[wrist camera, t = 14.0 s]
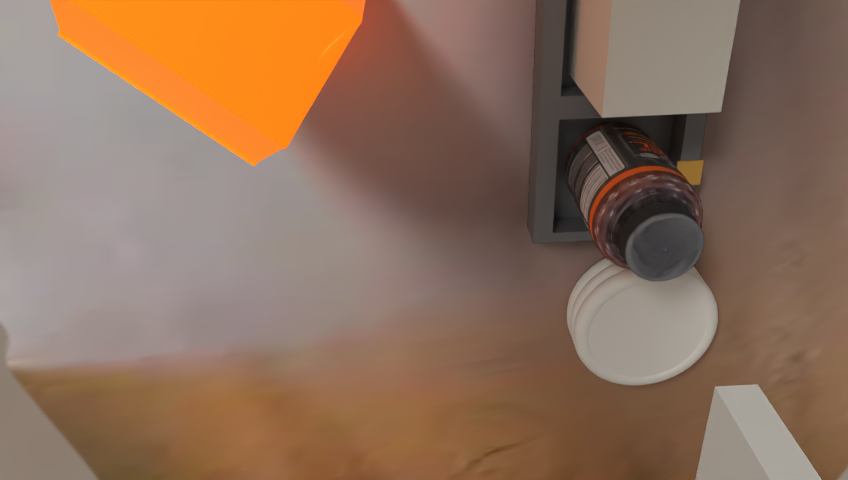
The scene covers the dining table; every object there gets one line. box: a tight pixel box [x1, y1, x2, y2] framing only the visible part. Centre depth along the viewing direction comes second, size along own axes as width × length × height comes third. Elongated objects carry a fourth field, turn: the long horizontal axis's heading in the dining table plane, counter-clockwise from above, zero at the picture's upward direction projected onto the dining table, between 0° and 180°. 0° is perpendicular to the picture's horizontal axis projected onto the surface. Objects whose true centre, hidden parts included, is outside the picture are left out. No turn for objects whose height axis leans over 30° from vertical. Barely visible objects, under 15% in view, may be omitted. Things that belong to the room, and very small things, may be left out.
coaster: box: [567, 258, 718, 385], centre depth 50 cm, size 10×10×4 cm
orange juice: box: [50, 0, 365, 166], centre depth 31 cm, size 8×9×20 cm
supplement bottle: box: [564, 122, 704, 282], centre depth 41 cm, size 6×6×11 cm
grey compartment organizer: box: [527, 0, 740, 243], centre depth 40 cm, size 18×10×8 cm, turn 2°
